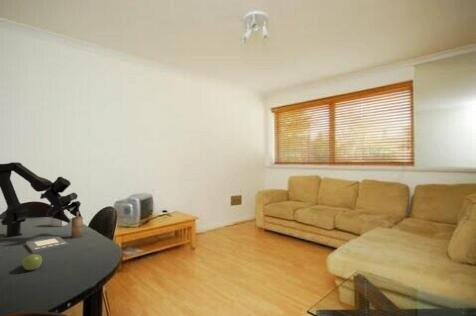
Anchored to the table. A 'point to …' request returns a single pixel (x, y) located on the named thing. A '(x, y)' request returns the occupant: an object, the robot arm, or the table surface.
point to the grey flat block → (46, 244)
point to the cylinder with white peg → (77, 226)
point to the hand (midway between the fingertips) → (75, 220)
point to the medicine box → (57, 221)
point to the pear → (32, 262)
